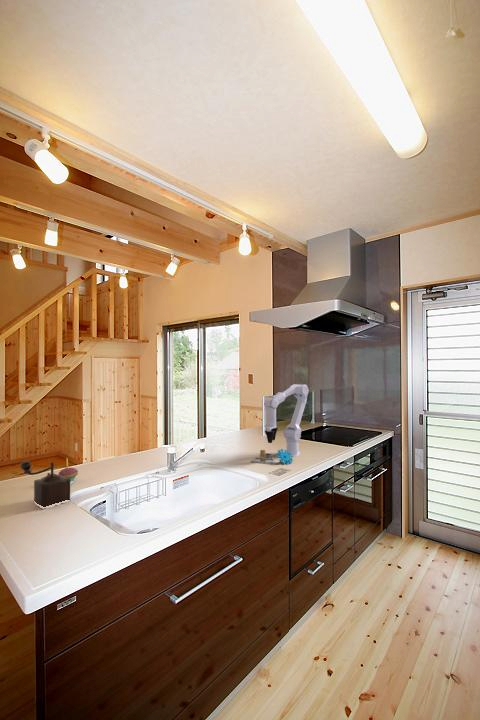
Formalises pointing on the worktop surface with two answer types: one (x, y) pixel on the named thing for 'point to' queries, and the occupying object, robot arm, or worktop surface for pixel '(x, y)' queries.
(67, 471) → the cupcake
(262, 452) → the oak pin
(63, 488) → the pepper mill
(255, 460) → the grey tray
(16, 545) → the worktop surface
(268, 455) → the charcoal cup
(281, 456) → the gear
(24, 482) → the worktop surface
